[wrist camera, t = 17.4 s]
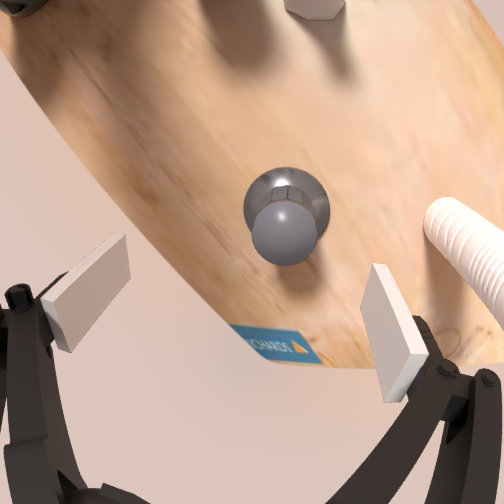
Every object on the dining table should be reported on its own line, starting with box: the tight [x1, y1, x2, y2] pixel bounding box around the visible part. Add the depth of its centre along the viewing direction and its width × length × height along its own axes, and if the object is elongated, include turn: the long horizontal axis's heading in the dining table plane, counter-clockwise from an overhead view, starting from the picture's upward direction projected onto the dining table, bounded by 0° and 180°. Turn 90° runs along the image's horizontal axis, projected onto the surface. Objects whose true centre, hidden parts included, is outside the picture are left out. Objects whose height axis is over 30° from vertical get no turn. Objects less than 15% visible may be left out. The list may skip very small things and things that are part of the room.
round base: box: [244, 167, 330, 238], centre depth 34 cm, size 10×10×6 cm
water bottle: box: [423, 197, 504, 331], centre depth 22 cm, size 9×6×25 cm
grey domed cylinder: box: [252, 184, 317, 266], centre depth 32 cm, size 6×6×8 cm
